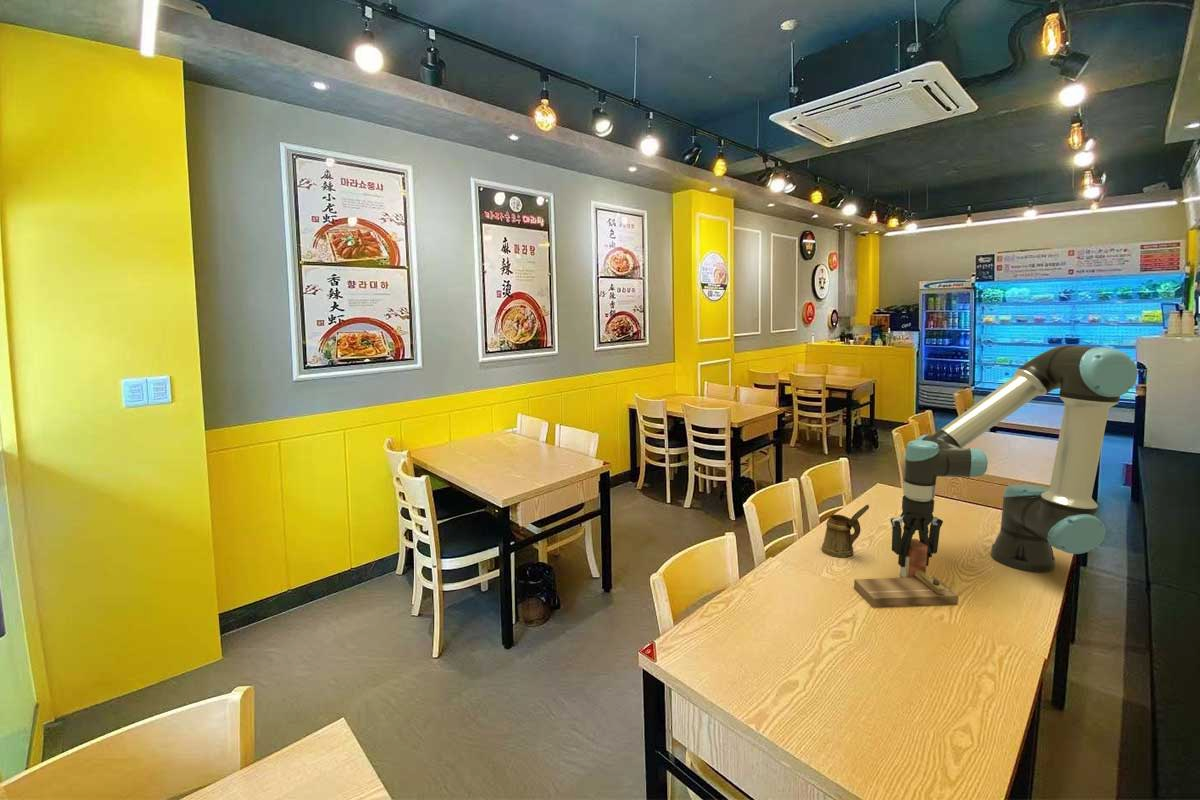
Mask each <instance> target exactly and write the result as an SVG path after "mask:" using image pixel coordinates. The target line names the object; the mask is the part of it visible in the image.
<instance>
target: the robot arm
mask: <svg viewBox="0 0 1200 800" xmlns="http://www.w3.org/2000/svg"><path fill="white" fill-rule="evenodd" d="M1138 374H1139V373H1138V367H1137V365H1136V362H1135V361H1134V359H1133V358H1131V356H1129V354H1127V353H1126V352H1123V351H1122V350H1120V349H1113V348H1109V347H1103V346H1101V347H1100V346H1099V347H1098V346H1096V347H1095V346H1083V345H1074V344H1069V345H1067V344H1066V345H1060V346H1056V347H1053V348H1051V349H1049V350H1046V351H1044V352H1042V353H1040V354H1039V355H1037V356H1035V357H1033V358H1032V359H1030V360H1029V361H1027V362H1026V363H1024V364H1023V365H1021V366H1020V367H1019V368H1017V369H1016V370H1015V371H1014V376H1013V377H1011V378H1010V379H1009V380H1007V381H1005V382H1004V383H1002V385H1000V386H999V387H997V388H995V390H993V391H991V393H989V394H988V395H986V396H985V397H983V398H982V399H981V400H980V401H978V402H976V403H975V404H974V405H972V406H971V407H970V408H968V409H967V410H965V411H964V412H963V413H961V414H960V415H959V416H957V417H956V418H955V419H952V421H951V422H949V423H947V424H946V425H945V426H943V427H942V428H940V429H939V430H938V431H937V432H935V433H934V434H923V435H921V436H919V437H918V438H917V439H915V440H914V439H913V440H911V441H908V443H907V444H906V448H905V455H904V476H903V490H902V494H903V495H902V499H901V500H902V501H901V509H902V512H901V514H900V516H899V517H897V518H894V517H892V518H891V519H890V523H891V526H892V528H891V529H892V531H891V551H892V552H893V553H895V554H896V555H898V558H897V560H898V562H897V563H898V566H899V567H900V568H899V570H900V571H899V576H900V575H901V576H902V577H903V578H908V574H909V561H910V557H909V556H907V554H908V550H909V547H910V543H911V540H912V539H913V536H914V535H915V534H916V532H917V531H918V532H917V533H918V537H919V538H918V540H919V541H921V542H922V543H923V544H925V545H926V546H928V548H927V560H926V567H928V566H929V564H930V562H929V561H930V558H932V557H933V554H935V555H936V554H937V553H938V549H939V548H938V547H939V538H940V532H941V531H940V530H941V527H942V525H943V524H944V521H943V520H942V519H940V518H939V517H937V516H934V515H933V513H934V512H935V511H934V510H935V500H934V499H935V497H936V484H937V477H940V478H941V477H944V478H945V477H946V478H947V477H952V478H953V477H954V478H955V477H956V478H973V477H974V478H975V477H982V476H984V475H985V473H987V470H988V463H989V461H988V458H987V455H986V453H985V452H984V451H983V450H981V449H979V448H971V447H968V448H965V447H966V446H967V445H969V444H970V443H973V441H975V440H976V439H977V438H980V436H982V435H984V434H985V433H986V432H988V431H989V430H990V429H991V428H992V429H993V427H995V426H996V425H997V424H999V423H1000V422H1002V421H1003V420H1004V419H1006V418H1008V417H1009V416H1011V414H1013V413H1014V412H1016V411H1017V410H1018V409H1020V408H1022V407H1023V406H1024V405H1026V404H1027V403H1029V402H1031V400H1033V399H1035V398H1036V397H1044V396H1045V395H1048V394H1049V393H1050V392H1051V391H1053V390H1054V391H1055V390H1057V389H1058V390H1059V393H1058V397H1059V399H1060V400H1061V401H1062V402H1063V403H1064V409H1063V413H1062V419H1061V424H1060V429H1059V435H1058V441H1057V446H1056V447H1057V448H1056V451H1055V456H1054V463H1053V469H1052V474H1051V479H1050V484H1049V487H1046V486H1042V485H1037V484H1036V485H1034V484H1010V485H1008V486H1006V487H1005V488H1004V492H1003V496H1002V498H1003V501H1002V512H1001V518H1000V519H1001V522H1000V530H999V533H998V535H997V537H996V538H995V541H994V543H993V544H992V545H991V546H990V547H991V549H990V556H991V557H992V558H993V559H994V560H995V561H996V562H998V563H1000V564H1002V565H1005V566H1008V567H1011V568H1013V569H1017V570H1023V571H1028V572H1034V573H1037V572H1038V573H1045V572H1050V571H1053V570H1054V569H1055V567H1056V557H1055V555H1054V551H1053V548H1054V549H1057V550H1060V551H1062V552H1064V553H1066V554H1071V555H1072V554H1073V555H1080V554H1086V553H1088V552H1090V551H1092V550H1093V549H1095V548H1096V549H1097V547H1098V546H1100V544H1101V543H1102V541H1103V540H1104V538H1105V535H1106V527H1105V524H1104V523H1102V520H1100V518H1099V517H1097V511H1098V506H1099V505H1098V503H1096V501H1095V500H1094V499H1093V497H1092V496H1093V490H1094V487H1095V481H1096V476H1097V472H1098V466H1099V462H1100V457H1101V451H1102V446H1103V441H1104V436H1105V432H1106V431H1105V430H1106V426H1107V421H1108V417H1109V410H1110V408H1112V407H1114V406H1115V405H1118V404H1119V402H1120V399H1121V396H1123V395H1125V394H1127V393H1128V392H1129V391H1130V390H1131V389H1133V387H1134V386H1135V385H1136V383H1137V380H1138ZM903 524H904V525H903ZM929 525H930V526H929ZM902 527H903V528H902ZM902 529H903V530H902ZM902 531H903V532H902ZM901 576H900V577H901ZM902 577H901V578H902Z"/></svg>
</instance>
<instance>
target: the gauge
mask: <svg viewBox="0 0 1200 800" xmlns="http://www.w3.org/2000/svg"><path fill="white" fill-rule="evenodd" d="M927 548H928V546H926V545H925V544H923V543H922V542H921V541H920V540H919V538H912V540H911V543H910V547H909V550H908V554H907V556H909V557H910V561H909V574H908V578H910V577H918V578H919V579H920V580H921V581H922V582H924V583H925V584H926V585H927V586H929V587H930V588H931V589H932V590H934V591H935V592H936V593H937V594H945V590H946V589H945V588H944V587H942V586H941V585H940V584H939V581H940V580H939V579H937V578H936V579H937V580H936V579H932V578H931V577H932V576H930V575H928V573H927V571H926V570H927V566H926V560H927ZM899 576H900V578H903V577H902V576H901V575H900V574H899Z"/></svg>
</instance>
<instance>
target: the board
mask: <svg viewBox="0 0 1200 800" xmlns="http://www.w3.org/2000/svg"><path fill="white" fill-rule="evenodd" d="M930 577H931V578H932V579H936V580H938V578H936V577H935V576H930ZM939 584H940V585H941V586H942V587H944V588H945V589H946V590H945V594H937V593H936V592H935V591H934V590H932V589H931V588H930V587H929V586H927V585H926V584H925V583H924V582H922V581H921V580H920V579H919V578H918V577H910V578H902V577H887V578H886V577H884V578H859V579H858V578H856V579H855V578H854V582H853V589H854V590H856V592H857V593H859V594H860V596H861V597H862V598H863V599H864V600H865V601H866V602H867V603H868V604H869V605H870V606H871V608H894V607H895V608H898V607H899V608H900V607H925V606H926V607H929V606H955V605H956V606H957V605H959V595H958V594H957V593H956V592H955V591H953V590H951V589H950V588H949V587H948V586H947V585H945V584H944V583H942V581H940V580H939Z"/></svg>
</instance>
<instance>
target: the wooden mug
mask: <svg viewBox="0 0 1200 800" xmlns="http://www.w3.org/2000/svg"><path fill="white" fill-rule="evenodd" d="M869 508H870V505H869V504H866V505H864V506H863V507H862V508H860V509H859V510H858V511H856V513H855V514H853V516H851V517H848V516H846V515H843V514H837V513H836V514H830V515H829V516H828V518H827V521H826V530H825V535H824V539H823V543H822V545H821V551H822V552H823V553H824V554H826V555H828V556H831V557H836V558H848V557H850V556H852V555H854V546H853V543H854V542H855V541H856V540H857V539H858V538H859V536H860V534H861V524H860V521H859V519H860V517H862V516H863V515H864V514H865V513H866V512H867V511H868V510H869ZM852 528H853V533H851V530H852Z"/></svg>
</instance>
